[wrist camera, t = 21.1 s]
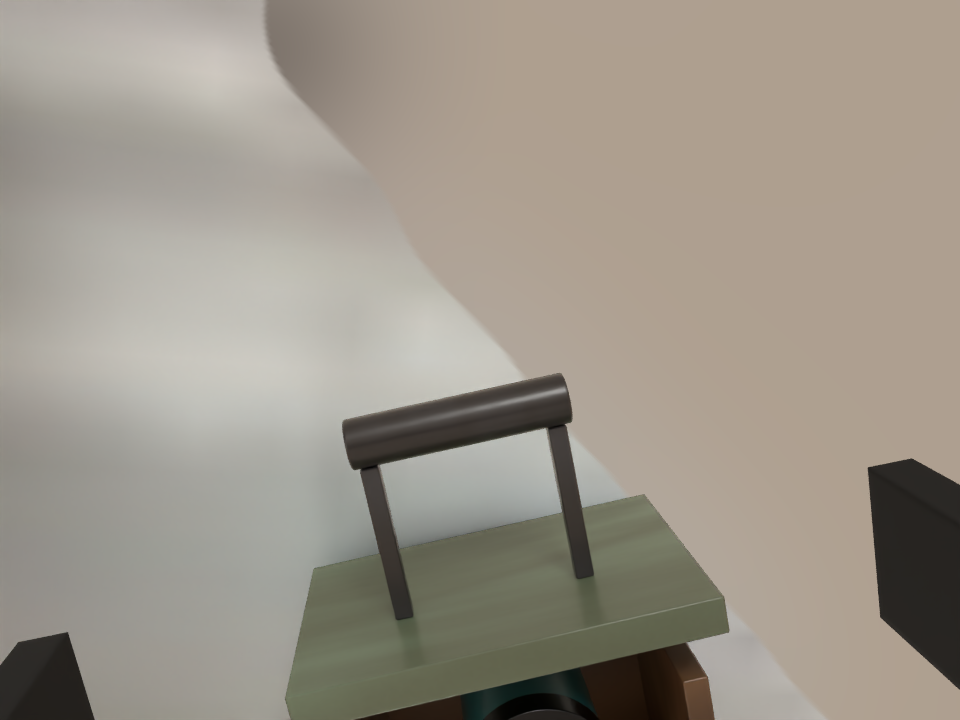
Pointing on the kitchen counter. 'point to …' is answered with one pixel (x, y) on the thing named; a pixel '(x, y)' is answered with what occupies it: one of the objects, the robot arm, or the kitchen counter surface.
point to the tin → (533, 699)
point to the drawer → (503, 588)
